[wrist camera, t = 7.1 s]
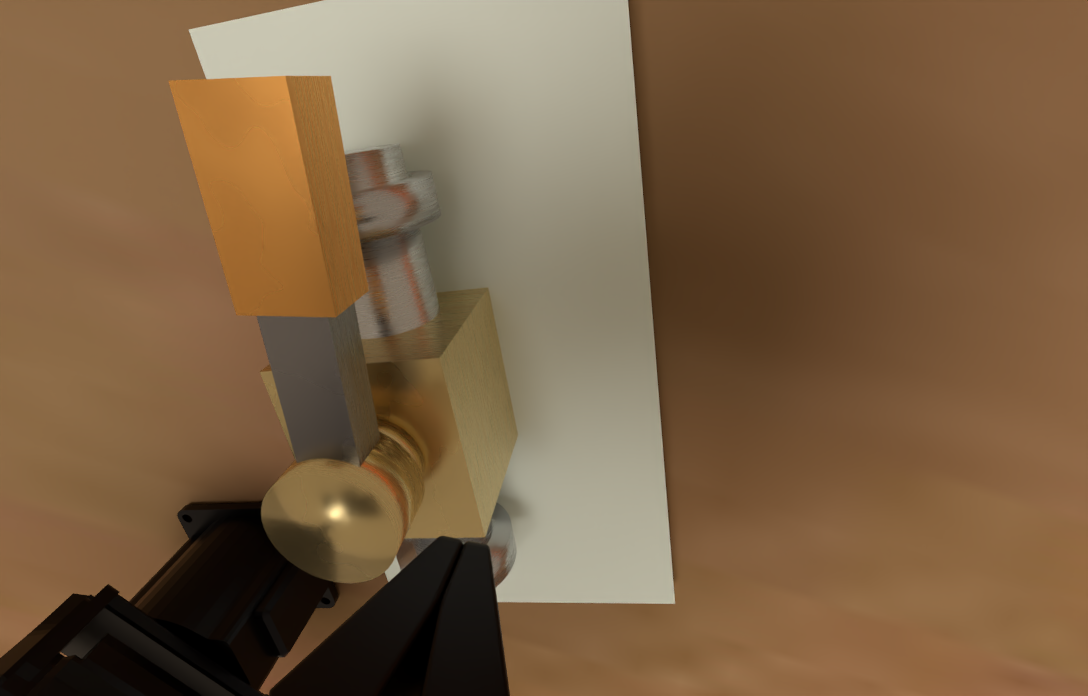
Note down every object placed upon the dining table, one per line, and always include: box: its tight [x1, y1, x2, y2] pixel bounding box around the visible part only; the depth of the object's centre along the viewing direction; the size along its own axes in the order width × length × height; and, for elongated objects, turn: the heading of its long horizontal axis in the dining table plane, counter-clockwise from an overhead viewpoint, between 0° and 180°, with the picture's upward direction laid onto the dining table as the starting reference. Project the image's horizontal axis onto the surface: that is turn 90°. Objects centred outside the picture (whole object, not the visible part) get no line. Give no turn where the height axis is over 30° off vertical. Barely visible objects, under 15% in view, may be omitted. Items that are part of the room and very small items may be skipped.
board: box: [189, 0, 675, 604], centre depth 21 cm, size 13×24×1 cm, turn 9°
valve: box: [260, 143, 518, 588], centre depth 18 cm, size 16×5×6 cm, turn 8°
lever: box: [169, 76, 425, 583], centre depth 13 cm, size 12×3×2 cm, turn 2°
